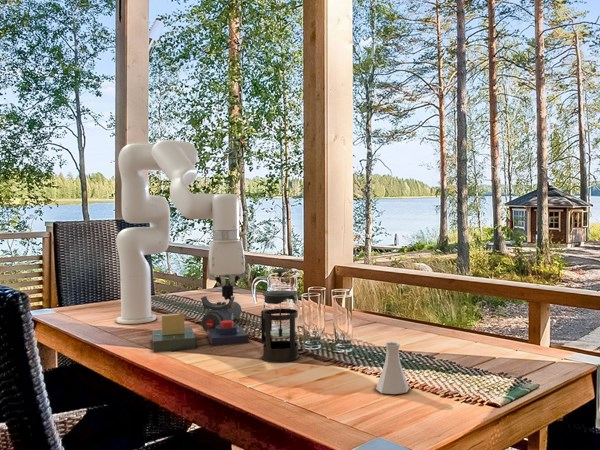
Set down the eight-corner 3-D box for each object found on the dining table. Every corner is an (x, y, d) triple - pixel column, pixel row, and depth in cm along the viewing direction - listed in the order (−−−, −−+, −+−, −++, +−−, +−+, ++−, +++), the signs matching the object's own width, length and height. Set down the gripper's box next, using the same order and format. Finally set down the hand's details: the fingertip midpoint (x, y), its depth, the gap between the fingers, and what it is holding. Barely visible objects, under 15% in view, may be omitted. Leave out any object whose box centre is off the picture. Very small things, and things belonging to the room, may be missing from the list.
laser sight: (247, 318, 196) (247, 290, 195) (224, 334, 173) (224, 301, 173) (219, 318, 197) (219, 289, 196) (194, 333, 174) (193, 301, 174)
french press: (308, 356, 148) (307, 269, 147) (282, 365, 141) (281, 273, 140) (276, 349, 156) (276, 266, 154) (250, 357, 148) (249, 269, 147)
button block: (207, 336, 171) (207, 323, 170) (241, 333, 174) (241, 320, 174) (212, 346, 159) (212, 331, 159) (248, 342, 163) (247, 328, 163)
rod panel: (152, 340, 166) (152, 329, 166) (191, 337, 170) (191, 326, 170) (153, 352, 153) (153, 340, 153) (195, 348, 157) (195, 337, 157)
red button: (220, 326, 168) (220, 320, 168) (232, 325, 169) (232, 319, 169) (221, 329, 164) (221, 323, 164) (234, 328, 166) (234, 322, 166)
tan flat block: (162, 335, 159) (161, 315, 159) (162, 333, 161) (161, 313, 161) (184, 333, 161) (184, 313, 161) (184, 332, 163) (183, 312, 163)
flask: (374, 384, 126) (374, 340, 126) (406, 383, 127) (406, 339, 126) (377, 395, 119) (377, 348, 119) (411, 394, 120) (411, 347, 119)
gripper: (249, 235, 172) (251, 295, 172) (198, 236, 166) (199, 299, 167) (254, 236, 165) (255, 299, 165) (201, 237, 159) (202, 303, 160)
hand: (227, 298), depth 166 cm, fingers closed
